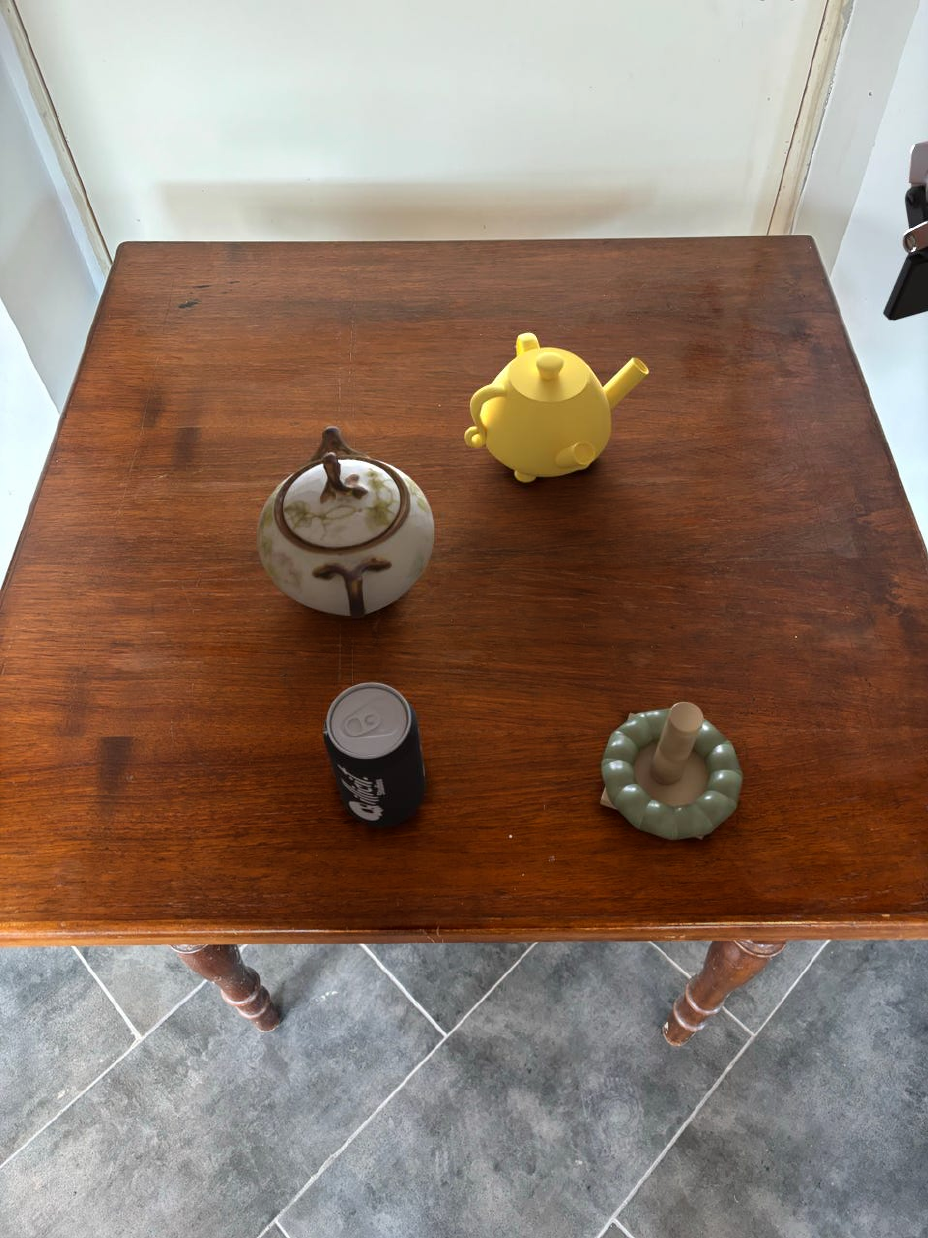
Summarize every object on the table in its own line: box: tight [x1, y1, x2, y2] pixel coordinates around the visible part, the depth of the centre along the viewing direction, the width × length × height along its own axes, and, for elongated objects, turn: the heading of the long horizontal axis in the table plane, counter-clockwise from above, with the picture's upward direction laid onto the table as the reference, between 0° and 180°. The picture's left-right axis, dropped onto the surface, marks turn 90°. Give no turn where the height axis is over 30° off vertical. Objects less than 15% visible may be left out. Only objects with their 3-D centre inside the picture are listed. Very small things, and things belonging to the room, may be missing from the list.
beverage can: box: [322, 682, 427, 828], centre depth 69 cm, size 7×7×12 cm
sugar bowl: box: [256, 425, 435, 619], centre depth 79 cm, size 20×15×15 cm
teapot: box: [464, 332, 650, 483], centre depth 89 cm, size 14×14×11 cm
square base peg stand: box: [599, 701, 710, 840], centre depth 70 cm, size 8×8×10 cm
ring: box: [600, 707, 744, 841], centre depth 72 cm, size 10×10×2 cm
